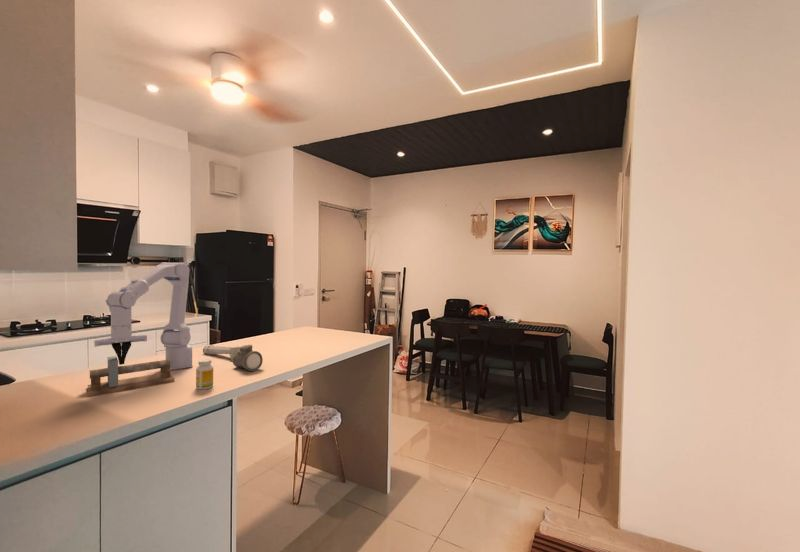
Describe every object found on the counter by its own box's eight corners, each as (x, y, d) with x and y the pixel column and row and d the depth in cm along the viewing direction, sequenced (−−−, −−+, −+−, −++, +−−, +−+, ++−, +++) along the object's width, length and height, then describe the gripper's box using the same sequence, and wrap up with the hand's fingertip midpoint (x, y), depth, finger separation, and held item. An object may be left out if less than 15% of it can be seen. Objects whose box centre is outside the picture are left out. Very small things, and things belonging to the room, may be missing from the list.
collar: (116, 379, 129) (116, 356, 128) (118, 386, 122) (118, 361, 122) (107, 381, 127) (107, 357, 127) (109, 387, 121) (109, 362, 120)
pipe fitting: (264, 367, 150) (261, 343, 150) (247, 374, 143) (243, 348, 143) (248, 366, 157) (245, 343, 156) (231, 372, 150) (227, 348, 150)
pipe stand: (168, 374, 140) (168, 355, 140) (174, 381, 132) (174, 361, 132) (87, 387, 124) (87, 366, 124) (88, 396, 116) (88, 374, 116)
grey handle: (211, 344, 177) (245, 343, 165) (212, 358, 177) (246, 358, 164) (201, 346, 172) (234, 345, 160) (202, 360, 172) (236, 360, 160)
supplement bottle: (192, 389, 124) (192, 362, 124) (201, 384, 130) (201, 358, 129) (208, 389, 124) (208, 362, 124) (216, 384, 130) (216, 358, 129)
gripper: (94, 329, 118) (94, 370, 118) (148, 324, 128) (148, 362, 128) (93, 326, 123) (94, 365, 124) (145, 322, 133) (145, 358, 133)
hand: (121, 363), depth 126 cm, fingers closed
